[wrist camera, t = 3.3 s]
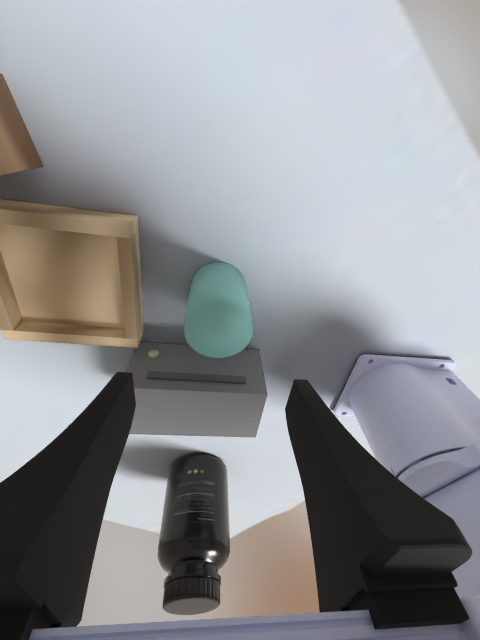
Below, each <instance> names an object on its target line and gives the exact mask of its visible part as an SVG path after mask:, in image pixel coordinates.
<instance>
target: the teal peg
mask: <svg viewBox="0 0 480 640" xmlns="http://www.w3.org/2000/svg"><path fill="white" fill-rule="evenodd" d="M252 335H253V323H252V317H251V312H250V306H249V301H248V295H247V290H246V284H245V280H244V277H243V275H242V274H241V272H240V271H239V270H238V269H237V268H235V267H234V266H232V265H230V264H227V263H223V262H213V263H209V264H206V265H204V266H203V267H201V268H200V269H199V270H198V271H197V272H196V273H195V275H194V276H193V278H192V282H191V288H190V294H189V299H188V305H187V311H186V317H185V323H184V336H185V339H186V341H187V343H188V344H189V345H190V347H191V348H192V349H194V350H195V351H196V352H198V353H200V354H202V355H204V356H208V357H213V358H224V357H229V356H232V355H235V354H237V353H239V352H240V351H242V350H243V349H244V348H245V347H246V346H247V345H248V344H249V342H250V341H251V338H252Z"/></svg>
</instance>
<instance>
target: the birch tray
mask: <svg viewBox="0 0 480 640" xmlns="http://www.w3.org/2000/svg"><path fill="white" fill-rule="evenodd" d="M0 329H1V332H2V335H3V337H4V339H9V340H24V341H40V342H55V343H70V344H86V345H101V346H117V347H132V348H138V347H139V344H140V341H141V338H142V336H143V333H144V325H143V306H142V287H141V268H140V249H139V230H138V216H136V215H128V214H120V213H112V212H104V211H96V210H87V209H79V208H71V207H63V206H55V205H47V204H39V203H30V202H22V201H14V200H6V199H0Z"/></svg>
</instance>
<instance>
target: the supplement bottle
mask: <svg viewBox="0 0 480 640" xmlns="http://www.w3.org/2000/svg"><path fill="white" fill-rule="evenodd" d="M229 553H230V535H229V508H228V481H227V469H226V466H225V464H224V463H223V462H222V461H221V460H220V459H219V458H217V457H215V456H212V455H208V454H191V455H187V456H184V457H181V458H179V459H178V460H176V461H175V462H174V463H173V464H172V466H171V467H170V470H169V474H168V480H167V488H166V495H165V502H164V510H163V517H162V524H161V532H160V539H159V547H158V560H159V563H160V565H161V567H162V568H163V569H164V570H165V571H166V572H167V573H168V576H167V577H166V578H165V580H164V598H163V609H164V610H165V611H166V612H168V613H171V614H176V615H177V614H178V615H194V614H201V613H205V612H209V611H211V610H214V609H216V608H217V607H218V606H219V605H220V585H221V577H220V575H219V574H218V570H219V569H220V568H221V567H223V565H224V564H225V563H226V561H227V559H228V557H229Z"/></svg>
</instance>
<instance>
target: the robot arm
mask: <svg viewBox="0 0 480 640" xmlns="http://www.w3.org/2000/svg"><path fill="white" fill-rule="evenodd" d="M370 359H371V360H370ZM368 360H369V361H368ZM456 366H457V364H456V363H455V362H454V361H453V360H442V359H427V358H413V357H398V356H384V355H369V354H363V355H361V356H360V357H359V358H358V360H357V362H356V364H355V366H354V369H353V371H352V373H351V375H350V377H349V379H348V381H347V383H346V385H345V387H344V390H343V392H342V394H341V396H340V398H339V400H338V402H337V404H336V406H335V409H334V411H333V412H334V414H335V415H336V416H348V417H356V418H357V420H358V423H359V425H360V427H361V429H362V431H363V433H364V435H365V437H366V439H367V441H368V443H369V445H370V448H371V450H372V452H373V454H374V456H375V458H376V459H375V458H374V457H373V456H372V455H371V454H369V453H368V452H367V451H366V450H365V449H364V448H363V447H362V446H361V445H360V444H359V443H358V442H357V441H356V440H355V438H354V437H353V436H352V435H351V434H350V433H349V432H348V431H347V430H346V429H345V427H344V426H343V425H342V424H341V423H340V422H339V420H338V419H337V418H336V417H335V415H334V414H333V413H332V412H331V411H330V409H329V408H328V407H327V405H326V404H325V403H324V402H323V400H322V399H321V398H320V396H319V395H318V394H317V392H316V391H315V390H314V388H313V387H312V386H311V384H310V383H309V382H308V381H307V380H295V379H294V382H293V385H292V389H291V392H290V395H289V398H288V402H287V405H286V408H285V412H286V419H287V426H288V432H289V436H290V440H291V444H292V447H293V451H294V455H295V458H296V462H297V466H298V470H299V473H300V477H301V481H302V486H303V490H304V496H305V502H306V508H307V514H308V520H309V526H310V533H311V540H312V548H313V556H314V563H315V572H316V581H317V589H318V599H319V609H320V613H305V614H287V615H270V616H253V617H237V618H236V617H235V618H219V619H201V620H184V621H167V622H151V623H133V624H116V625H98V626H81V627H76V626H77V625H78V624H79V622H80V621H81V618H82V613H83V608H84V603H85V598H86V593H87V587H88V583H89V578H90V573H91V569H92V564H93V559H94V554H95V550H96V545H97V541H98V537H99V533H100V528H101V524H102V520H103V516H104V512H105V508H106V504H107V500H108V496H109V492H110V488H111V485H112V481H113V478H114V475H115V473H116V470H117V467H118V464H119V461H120V458H121V455H122V452H123V450H124V447H125V444H126V441H127V438H128V435H129V432H130V429H131V425H132V421H133V417H134V412H135V407H136V400H135V392H134V383H133V374H132V373H125V372H117V373H116V374H115V375H114V376H113V377H112V379H111V380H110V381H109V382H108V384H107V385H106V386H105V387H104V388H103V390H102V391H101V392H100V393H99V394H98V395H97V397H96V398H95V399H94V400H93V401H92V402H91V403H90V404H89V405H88V407H87V408H86V409H85V410H84V411H83V412H82V413H81V414H80V415H79V416H78V417H77V418H76V419H75V420H74V421H73V422H72V423H71V424H70V425H69V426H68V427H67V428H66V429H65V430H64V431H63V432H62V433H61V434H60V435H59V436H58V437H57V438H56V439H54V440H53V441H52V442H51V443H50V444H49V445H48V446H47V447H45V448H44V449H43V450H42V451H41V452H40V453H38V454H37V455H36V456H35V457H33V458H32V459H31V460H30V461H28V462H27V463H26V464H25V465H24V466H22V467H21V468H20V469H18V470H17V471H16V472H15V473H13V474H12V475H11V476H9V477H8V478H6V479H5V480H4V481H2V482H1V483H0V640H480V400H479V399H478V398H477V397H476V396H475V395H474V394H473V392H472V391H471V390H470V389H469V388H468V387H467V386H466V385H465V384H464V383H463V382H462V381H461V380H460V379H459V378H458V377H457V376H456V375H455V374H454V373H453V370H454V369H455V368H456Z"/></svg>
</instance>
